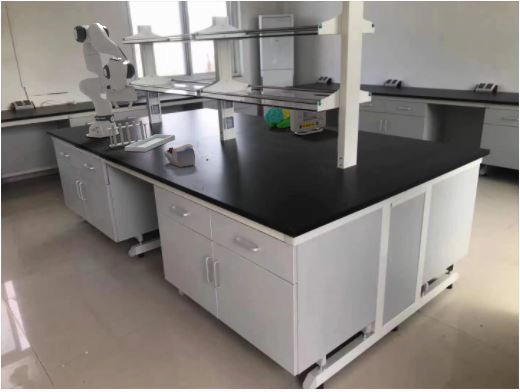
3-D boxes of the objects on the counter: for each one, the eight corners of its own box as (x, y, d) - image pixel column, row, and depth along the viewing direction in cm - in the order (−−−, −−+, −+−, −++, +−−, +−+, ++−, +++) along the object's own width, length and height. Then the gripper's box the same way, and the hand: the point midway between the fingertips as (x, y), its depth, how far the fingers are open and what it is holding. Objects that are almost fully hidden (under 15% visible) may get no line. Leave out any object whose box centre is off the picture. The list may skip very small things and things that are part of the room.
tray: (125, 150, 251) (124, 146, 250) (156, 138, 280) (156, 134, 279) (145, 151, 246) (144, 147, 245) (175, 138, 275) (174, 134, 274)
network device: (319, 127, 283) (319, 97, 276) (328, 129, 276) (328, 98, 269) (288, 133, 271) (287, 101, 264) (297, 135, 264) (296, 103, 257)
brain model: (276, 130, 279) (276, 107, 275) (258, 127, 294) (258, 105, 289) (302, 126, 293) (303, 104, 288) (284, 123, 307) (284, 102, 302)
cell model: (174, 148, 203) (160, 142, 220) (177, 170, 207) (163, 162, 223) (199, 143, 209) (184, 138, 226) (202, 165, 213) (187, 158, 229)
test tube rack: (111, 147, 262) (107, 126, 258) (109, 146, 266) (105, 125, 261) (150, 140, 274) (147, 120, 270) (148, 139, 278) (145, 119, 273)
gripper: (137, 84, 257) (141, 107, 261) (109, 85, 264) (113, 108, 268) (131, 85, 251) (134, 109, 256) (102, 86, 258) (107, 109, 263)
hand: (123, 108), depth 262 cm, fingers open, 8 cm apart
